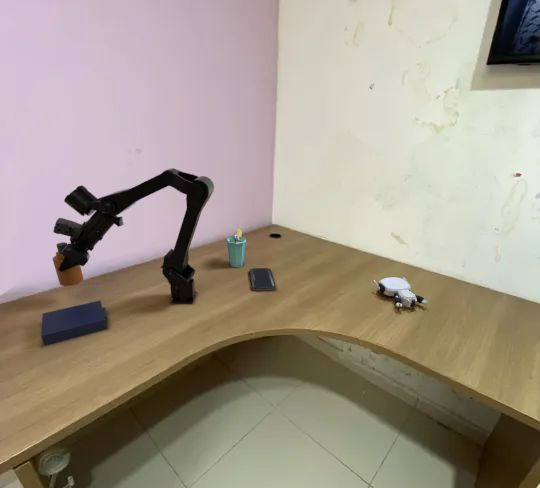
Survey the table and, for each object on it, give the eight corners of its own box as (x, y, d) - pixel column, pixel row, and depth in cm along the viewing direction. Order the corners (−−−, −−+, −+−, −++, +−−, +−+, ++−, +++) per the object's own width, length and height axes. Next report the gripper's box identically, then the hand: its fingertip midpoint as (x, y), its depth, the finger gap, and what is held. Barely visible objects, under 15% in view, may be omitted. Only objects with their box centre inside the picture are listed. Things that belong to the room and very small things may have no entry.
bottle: (87, 276, 96) (78, 240, 91) (76, 286, 91) (66, 248, 85) (66, 276, 96) (56, 239, 91) (55, 285, 90) (43, 247, 85)
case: (104, 308, 92) (102, 299, 91) (109, 328, 84) (107, 319, 82) (45, 322, 85) (42, 313, 84) (44, 345, 77) (41, 335, 75)
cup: (245, 273, 116) (245, 236, 110) (224, 273, 116) (223, 235, 110) (246, 258, 129) (247, 224, 122) (228, 257, 129) (227, 223, 122)
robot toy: (428, 310, 100) (400, 285, 112) (432, 299, 98) (403, 274, 110) (394, 314, 97) (370, 288, 110) (398, 303, 95) (373, 277, 107)
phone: (269, 268, 119) (275, 287, 105) (269, 270, 119) (275, 290, 106) (249, 268, 118) (252, 287, 104) (249, 271, 118) (252, 290, 105)
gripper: (75, 200, 93) (42, 238, 94) (61, 218, 77) (22, 263, 78) (109, 224, 99) (78, 259, 100) (103, 244, 83) (65, 286, 84)
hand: (62, 265), depth 91 cm, fingers closed on bottle, 6 cm apart
